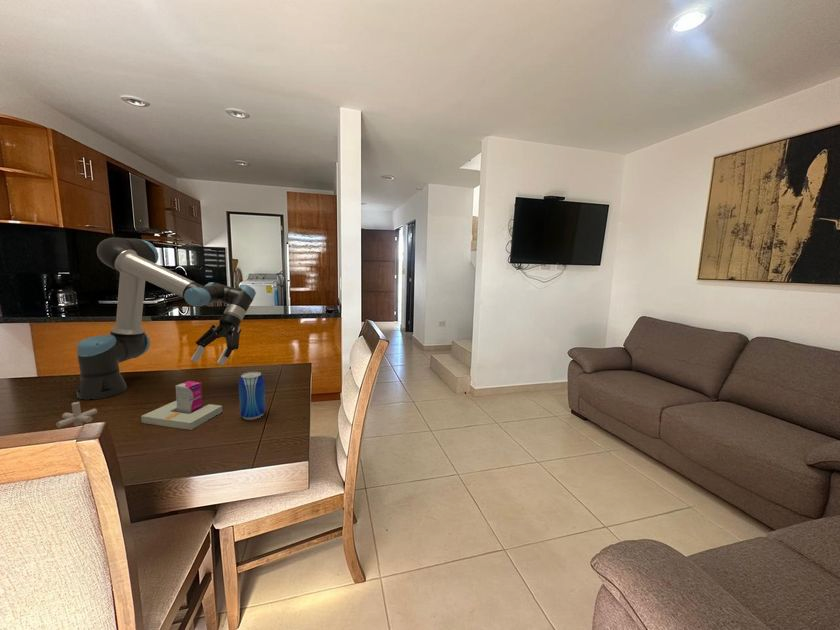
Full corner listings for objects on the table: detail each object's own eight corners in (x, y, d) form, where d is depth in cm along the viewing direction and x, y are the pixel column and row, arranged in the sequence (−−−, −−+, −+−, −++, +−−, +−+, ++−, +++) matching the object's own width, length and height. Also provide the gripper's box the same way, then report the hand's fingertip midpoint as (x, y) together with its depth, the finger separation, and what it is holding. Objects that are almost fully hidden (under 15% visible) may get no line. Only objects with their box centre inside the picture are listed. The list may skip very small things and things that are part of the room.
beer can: (241, 412, 127) (239, 372, 124) (265, 409, 130) (264, 369, 127) (239, 422, 119) (236, 379, 116) (265, 419, 122) (263, 377, 120)
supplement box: (189, 417, 120) (187, 387, 119) (176, 415, 122) (174, 385, 120) (203, 411, 126) (201, 382, 124) (191, 408, 127) (189, 380, 126)
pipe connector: (72, 442, 103) (68, 411, 102) (48, 437, 105) (43, 407, 104) (108, 426, 113) (105, 398, 111) (85, 422, 115) (81, 395, 113)
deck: (177, 406, 130) (177, 399, 130) (222, 412, 126) (222, 405, 126) (141, 422, 116) (140, 415, 116) (191, 430, 113) (190, 422, 112)
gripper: (261, 323, 142) (238, 369, 131) (216, 320, 149) (190, 364, 139) (250, 313, 136) (224, 361, 125) (203, 311, 143) (175, 356, 133)
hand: (206, 362), depth 132 cm, fingers open, 13 cm apart
